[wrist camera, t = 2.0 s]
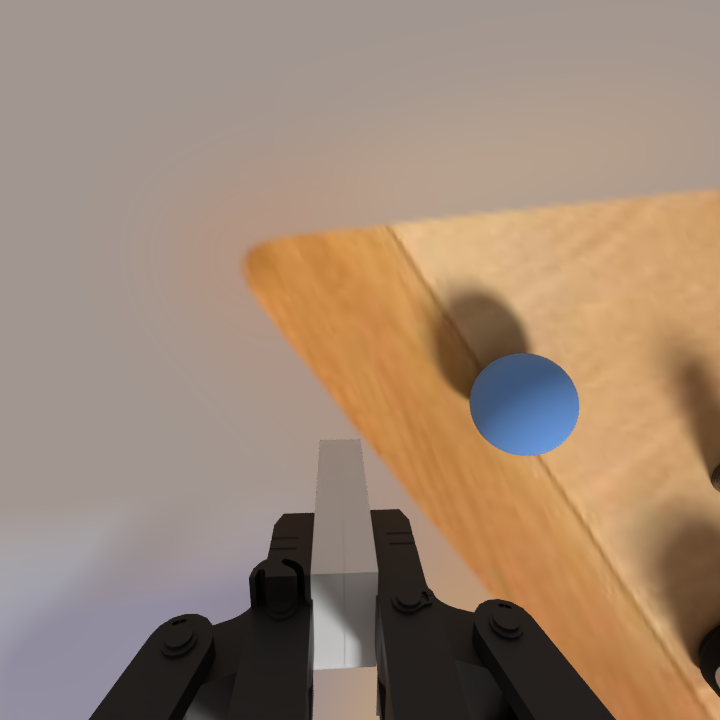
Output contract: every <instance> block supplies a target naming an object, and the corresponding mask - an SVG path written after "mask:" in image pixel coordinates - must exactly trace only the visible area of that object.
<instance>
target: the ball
mask: <svg viewBox="0 0 720 720" xmlns="http://www.w3.org/2000/svg"><path fill="white" fill-rule="evenodd" d="M470 411H471V415H472V419H473V421H474V424H475V426H476V427H477V429H478V431H479V432H480V433H481V435H482V436H483V437H484V438H485V439H486V440H487V441H488V442H489V443H490V444H492V445H493V446H495V447H497V448H498V449H500V450H502V451H504V452H507V453H510V454H514V455H521V456H532V455H538V454H542V453H545V452H548V451H550V450H553V449H554V448H556V447H558V446H559V445H560V444H562V443H563V442H564V441H565V440H566V439H567V438H568V436H569V435H570V434H571V432H572V431H573V429H574V427H575V425H576V422H577V419H578V414H579V399H578V394H577V391H576V388H575V386H574V384H573V382H572V380H571V379H570V377H569V376H568V375H567V373H566V372H565V371H564V370H563V369H562V368H561V367H560V366H558V365H557V364H555V363H554V362H553V361H551V360H549V359H547V358H544V357H541V356H539V355H534V354H527V353H517V354H511V355H506V356H503V357H501V358H499V359H496V360H495V361H493V362H491V363H490V364H489V365H488V366H486V367H485V368H484V369H483V370H482V371H481V373H480V374H479V375H478V377H477V378H476V380H475V382H474V384H473V387H472V390H471V395H470Z"/></svg>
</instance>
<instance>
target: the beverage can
mask: <svg viewBox="0 0 720 720" xmlns="http://www.w3.org/2000/svg"><path fill="white" fill-rule="evenodd" d="M699 659H700V670H701V673H702V676H703V678H704V679H705V681H706V682H707V683H708V684H709V685H710V687H711V688H712V689H713V690H714V691H715V693H716V694H717V695H718V696H719V697H720V626H718V627H717V628H715V629H714V630H713V631H712V632H710V633H709V634H708V636H707V637H706V638H705V639H704V641H703V643H702V645H701V647H700V651H699Z"/></svg>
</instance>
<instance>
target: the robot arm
mask: <svg viewBox="0 0 720 720" xmlns="http://www.w3.org/2000/svg"><path fill="white" fill-rule="evenodd" d="M249 585H250V598H251V607H250V608H249V609H248V610H247V611H246V612H244V613H243V614H241V615H240V616H238V617H236V618H233V619H231V620H228V621H225V622H222V623H219V624H216V625H213V626H212V624H211V623H210V621H209V620H208V619H207V618H206V617H203V616H201V615H198V614H184V615H181V616H177V617H174V618H172V619H170V620H169V621H167V622H165V623H164V624H162V625H160V626H159V627H158V628H157V629H156V630H155V631H154V633H152V635H150V637H149V638H148V640H147V641H146V643H145V644H144V645H143V646H142V648H141V649H140V651H139V652H138V653H137V655H136V656H135V657H134V659H133V660H132V661H131V663H130V664H129V666H128V667H127V668H126V669H125V671H124V672H123V674H122V675H121V676H120V678H119V679H118V680H117V682H116V683H115V684H114V686H113V687H112V689H111V690H110V691H109V693H108V694H107V695H106V697H105V698H104V700H103V701H102V702H101V704H100V705H99V706H98V708H97V709H96V710H95V712H94V713H93V714H92V716H91V717H90V718H89V720H312V718H313V717H312V716H313V670H317V669H336V668H355V667H375V666H376V662H377V671H378V676H377V713H376V715H377V716H380V720H616V719H615V718H614V717H613V716H612V714H611V713H610V712H609V711H608V709H607V708H606V707H605V706H604V705H603V703H602V702H601V701H600V700H599V698H598V697H597V696H596V695H595V693H594V692H593V691H592V690H591V689H590V687H589V686H588V685H587V684H586V682H585V681H584V680H583V679H582V678H581V676H580V675H579V674H578V673H577V671H576V670H575V669H574V668H573V667H572V665H571V664H570V663H569V662H568V660H567V659H566V658H565V657H564V656H563V654H562V653H561V652H560V651H559V649H558V648H557V647H556V646H555V645H554V643H553V642H552V641H551V640H550V638H549V637H548V636H547V635H546V634H545V632H544V631H543V630H542V629H541V627H540V626H539V625H538V624H537V622H536V621H535V620H534V619H533V618H532V616H530V615H529V614H528V613H527V612H526V611H525V610H524V609H523V608H521V607H520V606H518V605H516V604H514V603H512V602H509V601H505V600H500V599H494V600H487V601H485V602H483V603H481V604H479V606H478V607H477V609H476V610H475V613H474V612H469V611H465V610H461V609H457V608H454V607H451V606H448V605H446V604H445V603H443V602H441V601H440V600H438V599H437V598H436V597H435V595H434V593H433V591H432V590H430V589H429V588H428V586H427V584H426V581H425V577H424V574H423V570H422V566H421V563H420V559H419V555H418V552H417V548H416V545H415V541H414V537H413V535H412V530H411V526H410V522H409V519H408V518H407V517H406V516H405V515H404V514H403V513H402V512H401V511H400V510H399V509H390V510H370V508H369V500H368V493H367V485H366V478H365V471H364V463H363V456H362V449H361V441H360V439H357V440H320V446H319V460H318V474H317V490H316V503H315V513H293V514H283V515H282V517H281V518H280V519H279V520H278V521H277V523H276V524H275V525H274V529H273V534H272V540H271V544H270V550H269V553H268V558H267V559H266V560H264V561H262V562H261V563H259V564H258V565H257V566H256V567H255V568H254V569H253V571H252V573H251V575H250V577H249Z"/></svg>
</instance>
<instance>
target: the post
mask: <svg viewBox="0 0 720 720" xmlns="http://www.w3.org/2000/svg"><path fill="white" fill-rule="evenodd" d="M712 485H713V487H714V488H715V489H716V490H717V491H719V492H720V465H719V466H718V467H717V468H716V469H715V471H714V473H713V475H712Z"/></svg>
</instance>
